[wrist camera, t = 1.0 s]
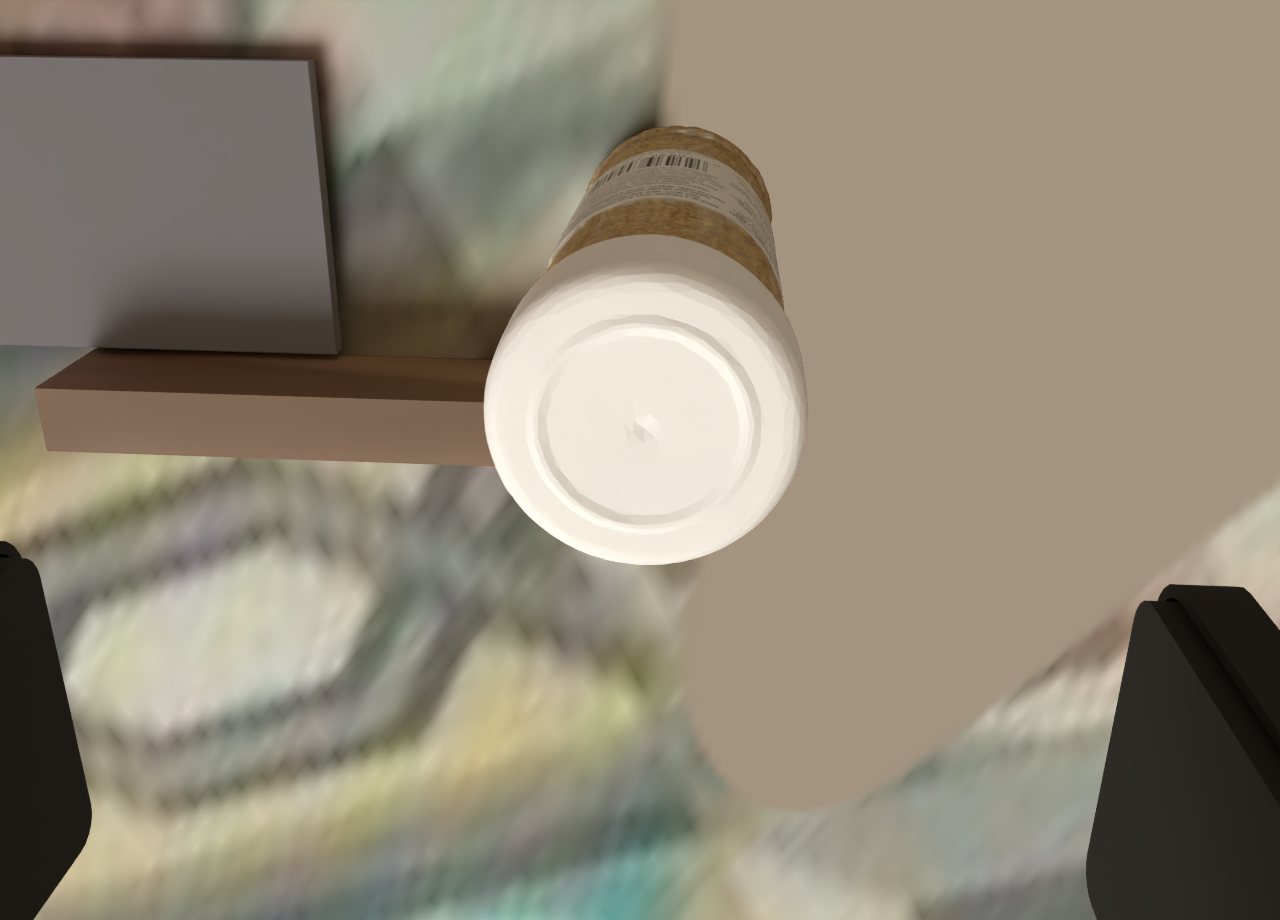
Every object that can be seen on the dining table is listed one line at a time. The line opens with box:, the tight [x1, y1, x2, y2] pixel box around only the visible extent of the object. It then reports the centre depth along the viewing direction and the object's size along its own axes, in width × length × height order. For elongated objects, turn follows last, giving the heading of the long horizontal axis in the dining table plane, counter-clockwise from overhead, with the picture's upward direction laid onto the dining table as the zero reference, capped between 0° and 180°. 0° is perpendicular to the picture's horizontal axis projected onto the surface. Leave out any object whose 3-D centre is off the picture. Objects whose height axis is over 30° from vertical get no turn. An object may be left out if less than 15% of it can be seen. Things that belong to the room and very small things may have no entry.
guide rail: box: [34, 348, 495, 466], centre depth 29 cm, size 2×17×3 cm, turn 90°
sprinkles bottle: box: [484, 126, 808, 565], centre depth 22 cm, size 5×5×14 cm
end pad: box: [0, 55, 342, 354], centre depth 29 cm, size 7×9×1 cm
